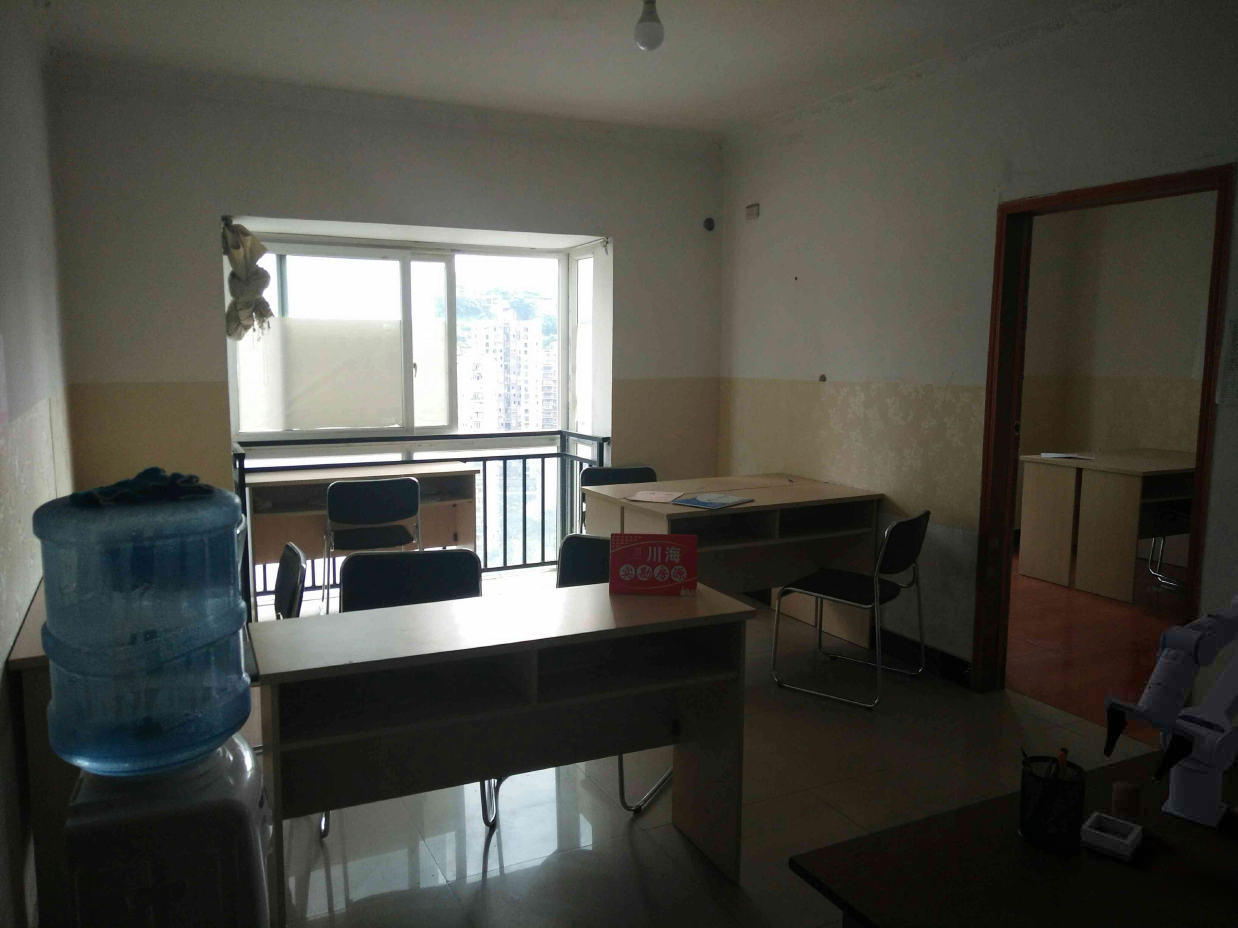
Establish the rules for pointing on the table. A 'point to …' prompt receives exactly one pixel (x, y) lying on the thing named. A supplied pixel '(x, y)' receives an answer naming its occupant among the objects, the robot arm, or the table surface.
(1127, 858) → the socket block
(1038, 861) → the table surface
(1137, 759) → the table surface
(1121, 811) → the walnut peg
